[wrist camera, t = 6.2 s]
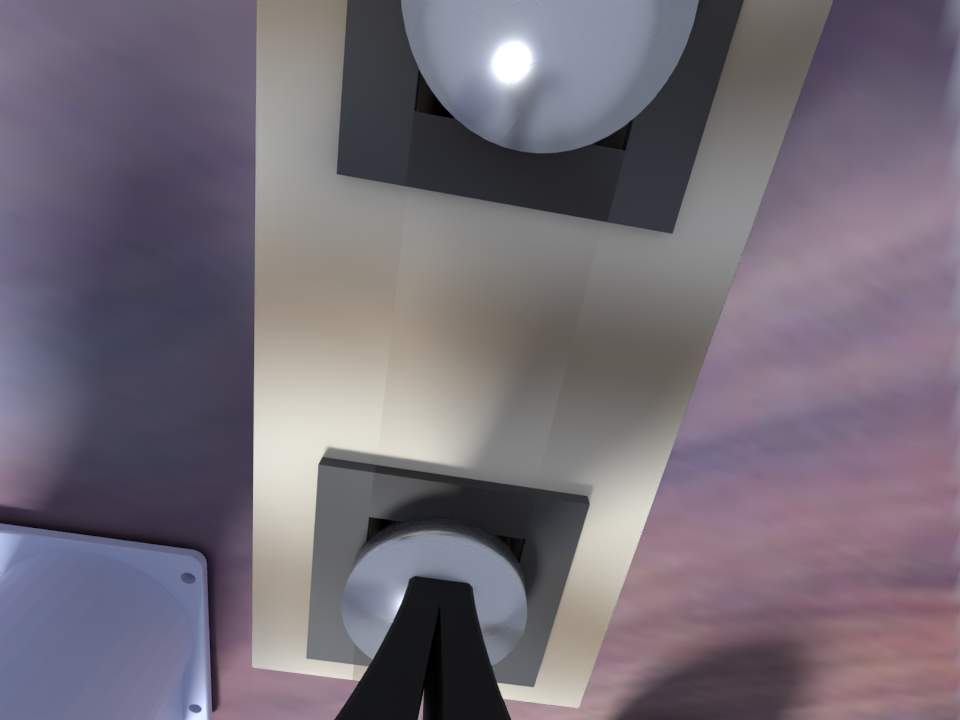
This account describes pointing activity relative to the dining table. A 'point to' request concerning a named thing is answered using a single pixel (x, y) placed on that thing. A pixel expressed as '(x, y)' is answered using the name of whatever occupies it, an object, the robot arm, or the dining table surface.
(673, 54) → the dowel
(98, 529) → the dining table surface
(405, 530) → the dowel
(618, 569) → the birch bar
